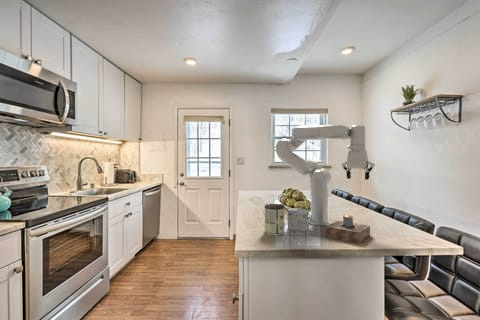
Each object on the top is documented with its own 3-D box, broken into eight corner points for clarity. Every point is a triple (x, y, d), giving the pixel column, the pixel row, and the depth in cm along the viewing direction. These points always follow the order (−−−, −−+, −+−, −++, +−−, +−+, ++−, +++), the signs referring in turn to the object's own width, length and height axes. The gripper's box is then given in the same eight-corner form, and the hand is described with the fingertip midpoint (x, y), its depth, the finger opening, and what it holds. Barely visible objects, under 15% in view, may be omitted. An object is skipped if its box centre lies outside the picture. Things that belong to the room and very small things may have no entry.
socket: (325, 236, 129) (325, 226, 129) (337, 230, 141) (337, 220, 141) (359, 243, 119) (359, 232, 119) (370, 235, 131) (370, 225, 131)
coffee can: (268, 229, 144) (268, 203, 144) (286, 231, 140) (286, 204, 140) (261, 234, 135) (261, 206, 135) (281, 236, 130) (281, 207, 130)
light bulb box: (308, 228, 145) (308, 208, 145) (307, 231, 139) (307, 211, 139) (289, 227, 149) (289, 207, 149) (287, 230, 142) (287, 210, 142)
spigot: (341, 234, 130) (341, 216, 130) (345, 232, 133) (345, 214, 133) (351, 236, 127) (351, 217, 127) (354, 234, 130) (354, 215, 130)
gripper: (339, 148, 149) (339, 178, 149) (371, 147, 137) (371, 180, 137) (345, 148, 155) (345, 177, 155) (376, 147, 142) (376, 179, 142)
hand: (357, 179), depth 146 cm, fingers open, 9 cm apart
